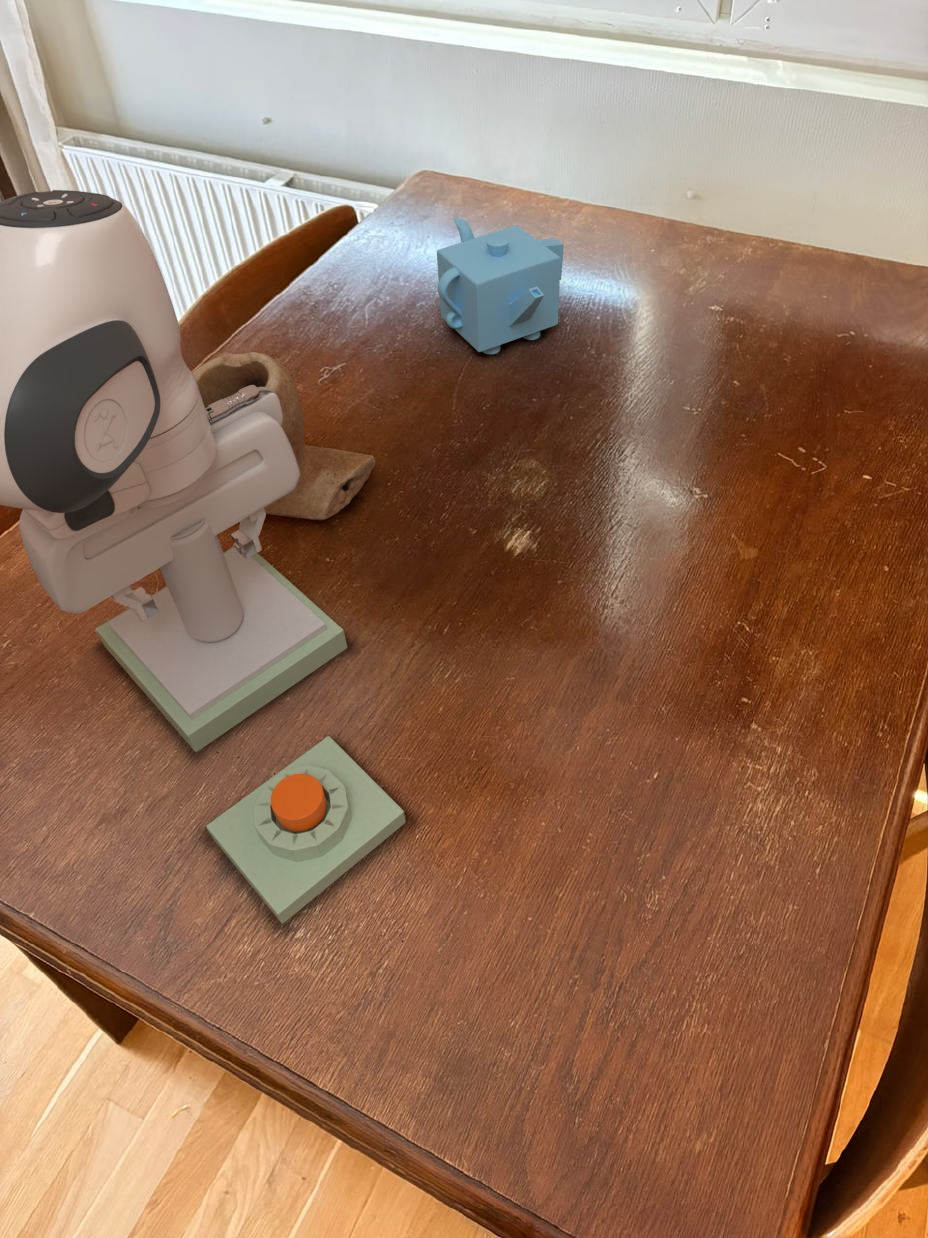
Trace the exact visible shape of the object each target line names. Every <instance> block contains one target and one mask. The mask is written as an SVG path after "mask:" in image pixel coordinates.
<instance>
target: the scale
mask: <svg viewBox="0 0 928 1238" xmlns="http://www.w3.org/2000/svg"><path fill="white" fill-rule="evenodd" d="M223 553H224V556H225V559H226V562H227V565H228V568H229V571H230V574H231V577H232V580H233V583H234V585H235V588H236V591H237V594H238V597H239V600H240V603H241V606H242V609H243V618H242V621H241V624H240V626H239V628H238V629H237V630H236V631H235V633H234V634H232V635H231V636H230V637H228V638H226V639H224V640H221V641H217V642H204V641H199V640H197V639H194V638H193V637H192V636H190V635H189V634H188V632H187V630H186V629H185V626H184V624H183V622H182V619H181V617H180V615H179V612H178V610H177V608H176V605H175V603H174V601H173V598H172V596H171V594H170V591H169V589H168V587H167V586H165V587H163V588H161V589H160V590H159V591H157V592H154V593H153V594H151V595H150V596H151V597H152V598H153V600H154V602H155V604H156V605H155V606H156V607H157V608H158V611H159V612H158V613H156V614H155V615H153V616H151V617H150V618H148V619H146V620H145V621H143V622H141V621H140V620H139V619H138V618H137V617H136V616H135V614H134V613H133V612H132V610H131V609H130V608H127V609H126V610H124V611H123V612H121V613H119V614H118V615H116V616H115V617H113V618H111V619H109V620H108V621H106V622H104V623H103V624H101V625H99V626H98V627H96V628H95V631H96V633H97V635H98V637H99V639H100V641H101V642H102V644H103V646H104V648H105V649H106V650H107V651H108V652H109V653H110V654H111V656H112V657H113V658H114V660H116V661H117V663H118V664H119V665H120V666H121V667H122V668H123V670H124V671H125V672H126V673H127V674H128V676H129V677H130V678H131V679H132V680H133V681H134V682H135V684H136V685H137V686H138V687H139V688H140V690H142V692H143V693H144V695H146V697H147V698H148V699H149V700H150V701H151V702H152V704H153V705H154V706H155V707H156V708H157V710H159V712H160V713H161V714H162V715H163V716H164V718H165V719H166V720H167V721H168V722H169V723H170V724H171V726H172V727H173V728H174V729H175V730H176V732H177V733H178V734H179V735H180V736H181V737H182V738H183V739H184V741H185V743H187V744H188V746H189V747H190V748H191V749H192V750H193V751H194V752H195V753H198V752H199V751H201V750H202V749H204V748H205V747H206V746H208V745H209V744H211V743H212V742H213V741H215V740H216V739H218V738H219V737H222V735H224V734H225V733H226V732H228V731H229V730H231V729H232V728H234V727H235V726H236V725H238V724H240V723H241V722H243V721H244V720H246V719H247V718H248V717H250V716H252V714H254V713H256V712H257V711H258V710H260V709H261V708H263V707H264V706H266V705H267V704H268V703H270V702H272V701H273V700H274V699H277V697H279V696H280V695H281V694H283V693H284V692H286V691H287V690H289V689H290V688H292V687H294V686H295V685H297V683H299V682H300V681H302V680H303V679H304V678H306V677H308V676H309V675H310V674H312V673H313V672H315V671H316V670H317V669H319V668H321V667H322V666H323V665H325V664H326V663H328V662H329V661H331V660H333V659H334V658H335V657H337V656H338V655H339V654H341V653H343V651H345V650H347V649H348V643H347V639H346V634H345V631H344V629H343V628H342V627H341V626H340V625H339V624H338V623H336V622H335V621H334V620H333V619H332V618H331V617H330V616H328V614H326V613H325V611H323V610H322V609H321V608H320V607H319V606H317V605H316V604H315V603H314V602H313V601H312V600H311V599H310V598H308V597H307V596H306V595H305V594H304V593H303V592H302V591H301V590H300V589H298V588H297V586H295V585H294V584H293V583H292V582H290V581H289V580H288V579H287V578H286V577H285V575H283V574H281V572H279V570H277V569H276V568H275V567H274V566H273V565H272V564H270V563H269V562H268V560H266V559H265V558H264V557H262V555H260V554H259V552H258V553H256V554H254V555H253V556H251V557H249V558H247V559H245V558H244V557H243V555H242V554H239V553H238V551H237V550H236V548H235V546H234V545H233V547H231V548H229V549H228V550H226V551H223Z"/></svg>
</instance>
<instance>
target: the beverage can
mask: <svg viewBox="0 0 928 1238" xmlns="http://www.w3.org/2000/svg"><path fill="white" fill-rule="evenodd" d="M204 521H205V518H204V519H202V521H201V523H199V524H197V525H195V526H193V527H191V528H189V529H187V530H186V531H184V532H182V533H181V534H179V535H177V536H175V537H170V540H173V542H172V544H171V549H172V552H173V554H174V559H173V561H171V562H169V563H167V564H166V565H164V566H162V567H161V568H159V570H160V573H161V575H162V578H163V580H164V582H165V585H166V587H168V589H169V591H170V594H171V596H172V598H173V601H174V603H175V605H176V608H177V610H178V612H179V615H180V617H181V619H182V622H183V624H184V626H185V629H186V630H187V632H188V634H189V635H190V636H192V637H193V638H194V639H197V640H199V641H204V642H217V641H221V640H224V639H226V638H228V637H230V636H231V635H232V634H234V633H235V631H236V630H237V629H238V628H239V626H240V624H241V621H242V618H243V609H242V606H241V603H240V600H239V597H238V594H237V591H236V588H235V585H234V583H233V580H232V577H231V574H230V571H229V568H228V565H227V562H226V559H225V556H224V551H223V548H222V544H221V542H220V539H219V536H218V535H216V536H214V534H213V532H212V530H211V527H210V524H203V523H204Z"/></svg>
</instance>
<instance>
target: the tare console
mask: <svg viewBox="0 0 928 1238" xmlns="http://www.w3.org/2000/svg"><path fill="white" fill-rule="evenodd" d="M293 774H308V775H311V776H313V777H314V778H316V779H317V780H318V781H319V782H320V784H321V786H322V788H323V791H324V795H325V798H326V801H327V809H326V813H325V815H324V817H323V819H322V820H321V821H320V822H319V823H318V824H317V825H316V826H314V827H313V828H311V829H309V830H306V831H300V832H296V831H290V830H287V829H285V828H284V827H282V826H281V825H280V823H279V822H278V820H277V818H276V816H275V813H274V811H273V809H272V806H271V795H272V792H273V790H274V788H275V786H276V785H277V784H278V783H279V782H280V781H281V780H282V779H284V778H286V777H288V776H290V775H293ZM406 823H407V820H406V815H405V810H404V809H403V808H402V807H400V805H398V804H397V803H396V801H395V800H394V799H393V798H392V797H391V796H389V794H388V793H387V792H386V791H385V790H384V789H383V788H382V787H381V786H380V785H379V784H378V783H377V782H376V781H375V780H374V779H373V778H372V777H371V776H370V775H368V773H366V771H365V770H364V769H363V768H362V767H361V766H360V765H359V764H358V763H357V762H356V761H355V760H354V759H353V758H352V757H351V756H350V755H349V754H348V753H347V752H346V751H345V750H344V749H343V748H342V747H341V746H340V745H339V744H338V743H337V742H336V741H335V739H333V738H332V737H331V736H330V735H327V736H326V737H325V738H323V739H322V740H320V741H319V742H318V743H316V744H315V745H314V746H313V747H311V748H309V749H308V750H307V751H306V752H304V753H303V754H301V755H300V756H299V757H298V758H296V759H295V760H294V761H292V762H291V763H289V764H288V765H287V766H285V767H284V768H282V769H281V770H280V771H279V772H277V773H276V774H274V775H273V776H272V777H270V778H269V779H267V780H266V781H264V782H263V783H262V784H260V786H258V787H256V788H255V789H254V790H253V791H251V792H250V793H248V794H247V795H246V796H245V797H243V798H241V800H239V801H238V802H236V803H235V804H234V805H232V806H231V807H229V808H227V810H226V811H224V812H223V813H221V814H219V815H218V816H217V817H216V818H214V819H213V820H212V821H210V822H209V823H207V825H206V830H207V831H208V833H209V835H210V837H211V839H213V840H214V842H215V843H216V844H217V846H218V847H219V848H220V849H221V851H222V852H223V853H224V854H225V856H226V857H227V859H229V860H230V862H231V863H232V864H233V866H235V868H236V870H237V871H238V872H239V873H240V874H241V876H242V877H243V878H244V879H245V881H246V882H247V883H248V884H249V885H250V886H251V888H253V890H254V891H255V893H256V894H257V895H258V897H260V899H261V900H262V901H263V902H264V904H265V905H266V906H267V907H268V908H269V910H270V911H271V912H272V913H273V916H275V917H276V918H277V920H278V921H279V922H280V923H281V924H282V925H283V924H284V923H287V921H289V919H291V918H292V917H293V916H295V915H296V914H297V913H298V912H299V911H300V910H302V909H303V908H304V907H305V906H307V905H308V904H309V903H310V902H312V901H313V900H314V899H316V898H317V897H318V896H319V895H320V894H321V893H322V892H323V891H325V890H326V889H327V888H328V887H329V886H331V885H332V884H333V883H334V882H336V881H337V880H338V879H340V877H342V876H343V875H344V874H346V872H348V871H349V870H351V868H353V867H354V866H355V865H356V864H357V863H359V862H360V861H361V860H363V859H364V858H365V857H366V856H367V855H368V854H370V853H371V852H372V851H373V850H375V849H376V848H377V847H378V846H379V845H381V844H382V843H383V842H384V841H385V840H387V839H388V838H389V837H390V836H391V835H393V834H394V833H396V831H398V829H400V828H401V827H402V826H404V825H405V824H406Z"/></svg>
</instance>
